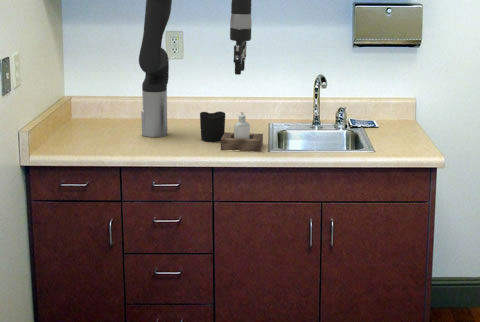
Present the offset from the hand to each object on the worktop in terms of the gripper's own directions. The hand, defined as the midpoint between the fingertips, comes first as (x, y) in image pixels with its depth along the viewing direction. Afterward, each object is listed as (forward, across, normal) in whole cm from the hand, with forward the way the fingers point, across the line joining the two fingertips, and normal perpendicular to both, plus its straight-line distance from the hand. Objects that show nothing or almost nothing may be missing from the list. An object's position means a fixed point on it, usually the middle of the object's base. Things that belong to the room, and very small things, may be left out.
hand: (239, 72), depth 277 cm
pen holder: (+27, -5, -10) cm, 29 cm away
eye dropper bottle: (+26, +5, +2) cm, 26 cm away
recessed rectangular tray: (+26, +5, +2) cm, 27 cm away
